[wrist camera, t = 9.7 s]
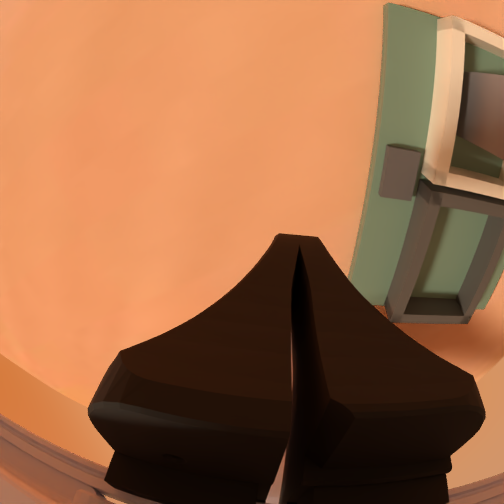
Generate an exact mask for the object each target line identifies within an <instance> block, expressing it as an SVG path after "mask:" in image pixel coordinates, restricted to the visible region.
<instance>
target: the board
mask: <svg viewBox="0 0 504 504" xmlns="http://www.w3.org/2000/svg"><path fill="white" fill-rule="evenodd" d="M464 71H466V72H478V73H488V74H496V75H504V38H503V37H501V36H499V35H497V34H495V33H493V32H491V31H489V30H487V29H484V28H482V27H480V26H478V25H476V24H473V23H471V22H469V21H466V20H464V19H461V18H459V17H456V16H454V15H451V16H447V17H444V18H440V17H437V16H434V15H431V14H428V13H425V12H421V11H418V10H415V9H411V8H408V7H404V6H400V5H397V4H393V3H387V4H385V5H384V8H383V45H382V63H381V78H380V90H379V100H378V110H377V119H376V127H375V135H374V143H373V150H372V157H371V164H370V170H369V177H368V183H367V189H366V194H365V200H364V205H363V211H362V216H361V221H360V226H359V231H358V236H357V240H356V245H355V250H354V254H353V259H352V263H351V267H350V271H349V276H348V280H349V281H350V282H351V283H352V284H353V285H354V287H355V288H356V289H357V290H358V291H359V292H360V293H361V294H362V295H363V296H364V298H365V299H366V300H367V301H369V302H370V303H371V304H372V305H381V306H385V309H386V312H387V316H388V319H389V321H390V322H393V323H428V324H468V322H469V320H470V319H471V317H472V315H473V313H474V311H475V309H485V307H486V305H487V303H488V301H489V299H490V297H491V295H492V293H493V291H494V289H495V287H496V285H497V283H498V281H499V278H500V276H501V274H502V272H503V270H504V160H502V159H501V158H499V157H497V156H495V155H494V154H492V153H490V152H488V151H486V150H484V149H483V148H481V147H479V146H477V145H475V144H473V143H471V142H469V141H467V140H465V139H463V138H461V137H459V136H457V135H456V131H457V125H458V118H459V111H460V103H461V94H462V84H463V72H464Z"/></svg>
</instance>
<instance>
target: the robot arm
mask: <svg viewBox="0 0 504 504" xmlns="http://www.w3.org/2000/svg"><path fill="white" fill-rule="evenodd" d="M88 416H89V418H90V420H91V422H92V424H93V425H94V427H95V428H96V429H97V431H98V432H99V433H100V434H101V435H102V437H103V438H104V439H105V440H106V441H107V442H108V444H109V445H110V446H111V447H112V448H113V449H114V450H115V452H114V454H113V457H112V460H111V462H110V465H109V468H108V467H105V466H102V465H100V464H97V463H95V462H92V461H90V460H87V459H85V458H82V457H80V456H78V455H76V454H74V453H71V452H69V451H67V450H65V449H63V448H61V447H58V446H57V445H55V444H53V443H51V442H49V441H47V440H45V439H43V438H41V437H39V436H37V435H35V434H33V433H32V432H30V431H28V430H26V429H25V428H23V427H21V426H20V425H18V424H16V423H14V422H13V421H11V420H9V419H8V418H6V417H5V416H3V415H1V414H0V504H114V503H112V502H110V501H107V500H106V498H105V497H104V495H106V496H108V497H111V498H113V499H116V500H119V501H121V502H124V503H127V504H504V473H501V474H498V475H495V476H493V477H490V478H487V479H484V480H480V481H477V482H474V483H471V484H467V485H464V486H460V487H457V488H453V489H449V490H448V486H447V479H446V473H449V472H450V471H451V469H452V463H451V458H450V456H451V455H452V454H453V453H454V452H455V451H457V450H458V449H459V448H460V447H461V446H463V445H464V444H465V443H466V442H467V441H468V440H470V439H471V438H472V437H473V436H474V435H475V434H476V433H477V432H478V430H479V429H480V428H481V426H482V424H483V422H484V420H485V409H484V406H483V402H482V399H481V397H480V394H479V391H478V388H477V385H476V382H475V380H474V377H473V375H471V374H469V373H467V372H466V371H464V370H462V369H460V368H458V367H457V366H455V365H453V364H451V363H449V362H448V361H446V360H444V359H442V358H440V357H439V356H437V355H436V354H434V353H433V352H431V351H430V350H428V349H426V348H425V347H423V346H422V345H420V344H419V343H417V342H416V341H415V340H413V339H412V338H411V337H409V336H408V335H407V334H405V333H404V332H403V331H401V330H400V329H399V328H398V327H396V326H395V325H394V324H393V323H392V322H390V321H389V320H388V319H387V318H386V317H384V316H383V315H382V314H381V313H380V312H379V311H378V310H377V309H376V308H375V307H374V306H373V305H372V304H371V303H370V302H369V301H367V300H366V299H365V298H364V296H363V295H362V294H361V293H360V292H359V291H358V290H357V289H356V288H355V287H354V285H353V284H352V283H351V282H350V281H349V280H348V278H347V277H346V276H345V274H344V273H343V272H342V270H341V269H340V268H339V266H338V265H337V264H336V262H335V261H334V260H333V258H332V257H331V255H330V254H329V252H328V251H327V249H326V248H325V246H324V245H323V243H322V242H321V240H320V239H319V238H318V237H313V236H302V235H291V234H280V233H279V234H278V235H276V236H275V238H274V240H273V242H272V244H271V245H270V247H269V248H268V250H267V251H266V252H265V254H264V255H263V256H262V258H261V259H260V260H259V261H258V263H257V264H256V265H255V266H254V267H253V269H252V270H251V271H250V272H249V273H248V274H247V275H246V276H245V277H244V278H243V279H242V280H241V281H240V282H239V283H238V284H237V285H236V286H235V287H234V288H233V289H231V290H230V291H229V292H228V293H227V294H226V295H224V296H223V297H222V298H221V299H219V300H218V301H217V302H215V303H214V304H213V305H211V306H210V307H208V308H207V309H206V310H204V311H203V312H201V313H200V314H198V315H197V316H195V317H194V318H192V319H190V320H188V321H187V322H185V323H183V324H181V325H179V326H177V327H175V328H173V329H171V330H170V331H168V332H165V333H163V334H161V335H159V336H157V337H154V338H152V339H149V340H147V341H145V342H142V343H140V344H137V345H135V346H132V347H130V348H127V349H124V350H121V351H120V352H119V353H118V355H117V357H116V358H115V359H114V361H113V362H112V364H111V365H110V366H109V368H108V370H107V372H106V373H105V375H104V377H103V379H102V381H101V383H100V385H99V387H98V389H97V391H96V393H95V395H94V397H93V399H92V401H91V403H90V405H89V407H88Z"/></svg>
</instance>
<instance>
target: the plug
mask: <svg viewBox="0 0 504 504" xmlns="http://www.w3.org/2000/svg"><path fill="white" fill-rule="evenodd" d="M456 135H457V136H459V137H461V138H463V139H465V140H467V141H469V142H471V143H473V144H475V145H477V146H479V147H481V148H483V149H484V150H486V151H488V152H490V153H492V154H494V155H495V156H497V157H499V158H501V159H502V160H504V75H496V74H488V73H478V72H466V71H464V72H463V84H462V94H461V103H460V111H459V118H458V125H457V131H456Z"/></svg>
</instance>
